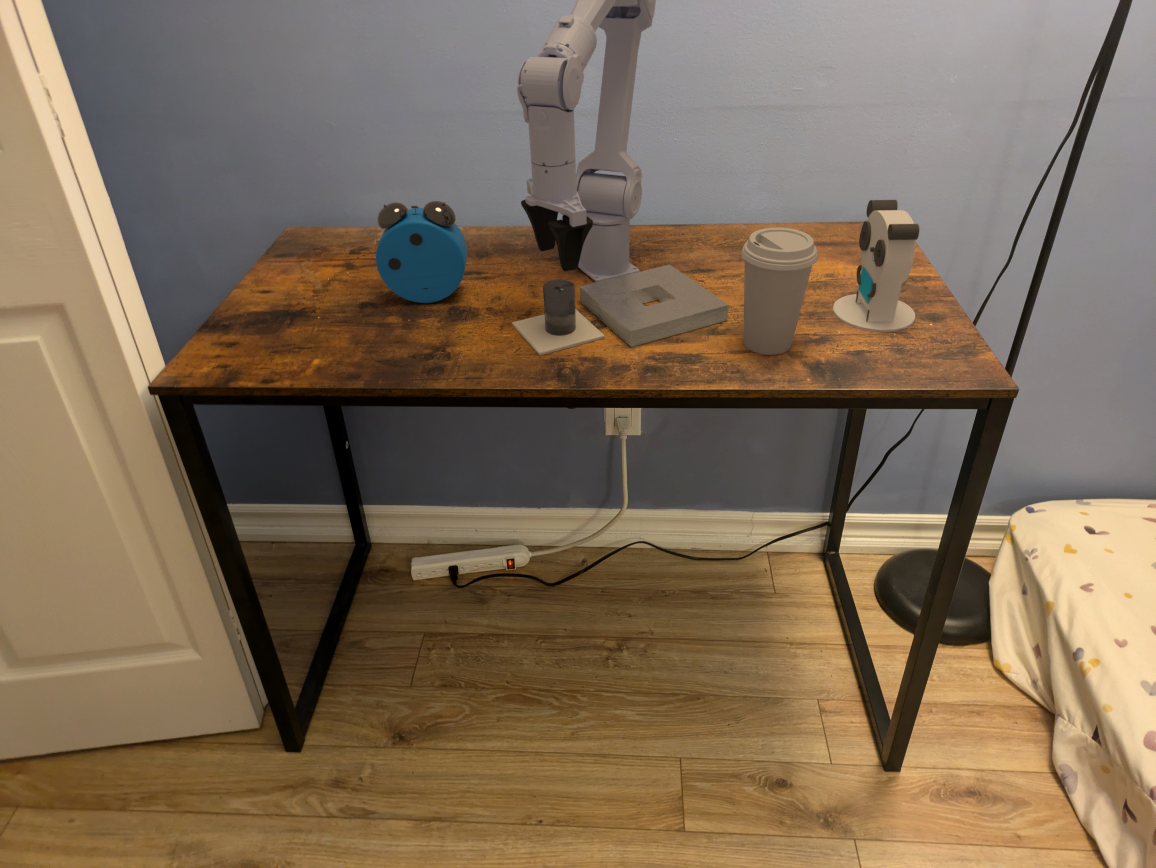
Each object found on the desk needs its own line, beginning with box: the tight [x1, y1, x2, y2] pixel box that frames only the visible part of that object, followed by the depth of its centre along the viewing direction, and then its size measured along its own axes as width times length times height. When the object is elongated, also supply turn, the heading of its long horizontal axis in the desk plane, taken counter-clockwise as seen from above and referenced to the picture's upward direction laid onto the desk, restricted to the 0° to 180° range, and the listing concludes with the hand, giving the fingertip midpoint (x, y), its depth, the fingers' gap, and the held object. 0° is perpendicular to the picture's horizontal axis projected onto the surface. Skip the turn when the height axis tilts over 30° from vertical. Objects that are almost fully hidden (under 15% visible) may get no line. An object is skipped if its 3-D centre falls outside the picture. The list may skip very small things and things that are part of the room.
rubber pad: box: [511, 308, 606, 356], centre depth 109 cm, size 10×10×1 cm
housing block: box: [578, 264, 730, 348], centre depth 113 cm, size 16×16×2 cm
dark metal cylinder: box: [542, 279, 576, 336], centre depth 107 cm, size 4×4×6 cm
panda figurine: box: [832, 199, 920, 333], centre depth 107 cm, size 12×11×15 cm
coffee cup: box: [740, 227, 819, 356], centre depth 101 cm, size 10×10×15 cm
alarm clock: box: [375, 200, 468, 304], centre depth 115 cm, size 13×6×15 cm, turn 92°
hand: (558, 259), depth 106 cm, fingers open, 7 cm apart
